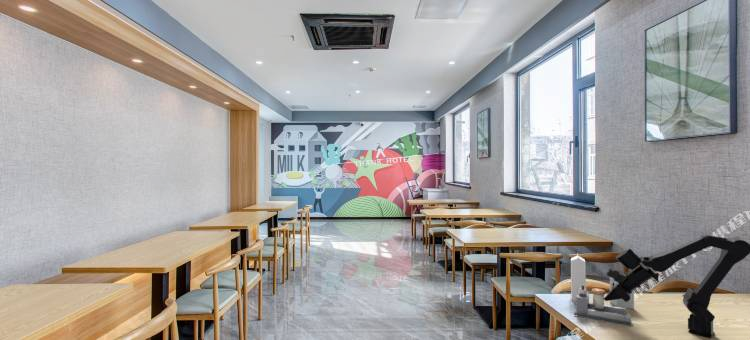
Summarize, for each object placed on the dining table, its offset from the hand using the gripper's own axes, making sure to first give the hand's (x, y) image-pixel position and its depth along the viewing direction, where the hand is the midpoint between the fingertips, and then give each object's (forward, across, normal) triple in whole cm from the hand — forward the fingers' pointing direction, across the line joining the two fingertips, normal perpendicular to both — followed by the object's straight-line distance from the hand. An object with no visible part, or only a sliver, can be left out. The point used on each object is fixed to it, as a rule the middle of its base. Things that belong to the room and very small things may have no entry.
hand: (604, 299), depth 156 cm
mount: (+6, 0, +4) cm, 7 cm away
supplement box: (+1, -20, +10) cm, 22 cm away
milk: (+13, -19, -3) cm, 23 cm away
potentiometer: (+5, 0, -6) cm, 8 cm away
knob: (+5, 0, +2) cm, 6 cm away
